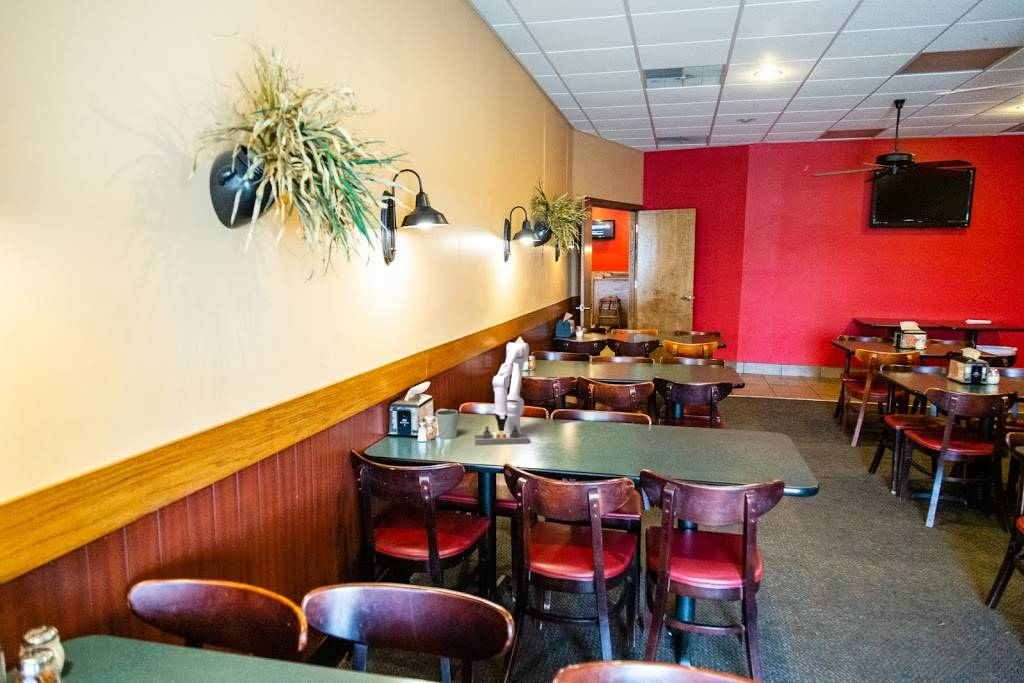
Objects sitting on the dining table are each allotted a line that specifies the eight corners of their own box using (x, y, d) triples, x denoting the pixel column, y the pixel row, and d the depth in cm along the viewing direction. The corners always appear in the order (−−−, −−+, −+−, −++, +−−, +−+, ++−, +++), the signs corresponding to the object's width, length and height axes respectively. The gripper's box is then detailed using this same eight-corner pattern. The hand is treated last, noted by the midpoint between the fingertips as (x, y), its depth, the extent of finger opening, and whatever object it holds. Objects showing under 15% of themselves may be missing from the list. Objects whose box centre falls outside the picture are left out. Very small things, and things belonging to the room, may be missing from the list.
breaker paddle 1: (492, 436, 282) (492, 432, 282) (496, 436, 282) (496, 432, 282) (493, 437, 279) (493, 434, 279) (496, 437, 280) (496, 433, 279)
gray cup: (460, 434, 295) (459, 409, 293) (456, 440, 285) (455, 414, 283) (439, 433, 296) (438, 409, 294) (434, 439, 286) (434, 414, 284)
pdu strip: (474, 440, 284) (474, 434, 283) (526, 439, 286) (526, 433, 286) (475, 445, 277) (475, 439, 276) (528, 443, 279) (528, 437, 279)
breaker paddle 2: (505, 436, 282) (505, 432, 282) (509, 435, 283) (509, 432, 282) (506, 437, 280) (506, 433, 280) (509, 437, 280) (509, 433, 280)
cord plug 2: (511, 435, 283) (511, 425, 282) (518, 435, 283) (518, 424, 283) (512, 437, 280) (512, 426, 279) (519, 437, 280) (519, 426, 280)
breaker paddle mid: (499, 436, 282) (499, 432, 282) (502, 436, 282) (502, 432, 282) (499, 437, 280) (499, 433, 279) (503, 437, 280) (503, 433, 280)
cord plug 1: (483, 436, 282) (483, 425, 281) (490, 436, 282) (490, 425, 281) (483, 438, 279) (483, 427, 278) (490, 438, 279) (490, 427, 278)
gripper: (491, 398, 286) (491, 426, 287) (493, 405, 271) (493, 435, 273) (506, 397, 286) (506, 426, 288) (509, 404, 272) (509, 434, 274)
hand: (501, 430), depth 281 cm, fingers closed
